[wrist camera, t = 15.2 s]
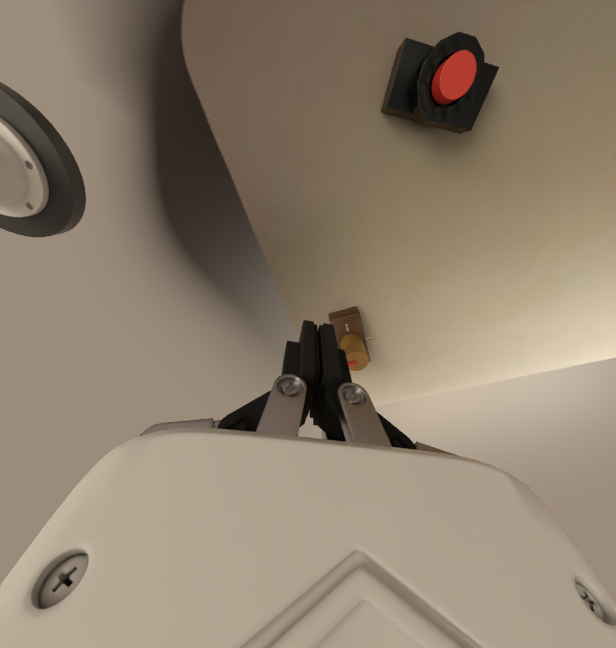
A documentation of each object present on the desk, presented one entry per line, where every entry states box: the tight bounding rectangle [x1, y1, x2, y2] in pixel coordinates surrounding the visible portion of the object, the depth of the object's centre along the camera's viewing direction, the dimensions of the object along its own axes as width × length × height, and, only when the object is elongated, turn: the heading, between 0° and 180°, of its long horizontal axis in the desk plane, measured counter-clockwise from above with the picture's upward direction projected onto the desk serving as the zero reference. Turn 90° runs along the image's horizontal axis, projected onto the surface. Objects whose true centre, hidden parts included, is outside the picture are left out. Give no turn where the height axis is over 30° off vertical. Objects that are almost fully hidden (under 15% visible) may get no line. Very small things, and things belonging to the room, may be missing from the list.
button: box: [431, 50, 476, 105], centre depth 22 cm, size 3×3×2 cm
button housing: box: [381, 32, 499, 134], centre depth 24 cm, size 10×6×4 cm, turn 79°
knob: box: [340, 334, 369, 371], centre depth 38 cm, size 4×4×5 cm
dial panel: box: [329, 307, 375, 362], centre depth 42 cm, size 11×8×3 cm
